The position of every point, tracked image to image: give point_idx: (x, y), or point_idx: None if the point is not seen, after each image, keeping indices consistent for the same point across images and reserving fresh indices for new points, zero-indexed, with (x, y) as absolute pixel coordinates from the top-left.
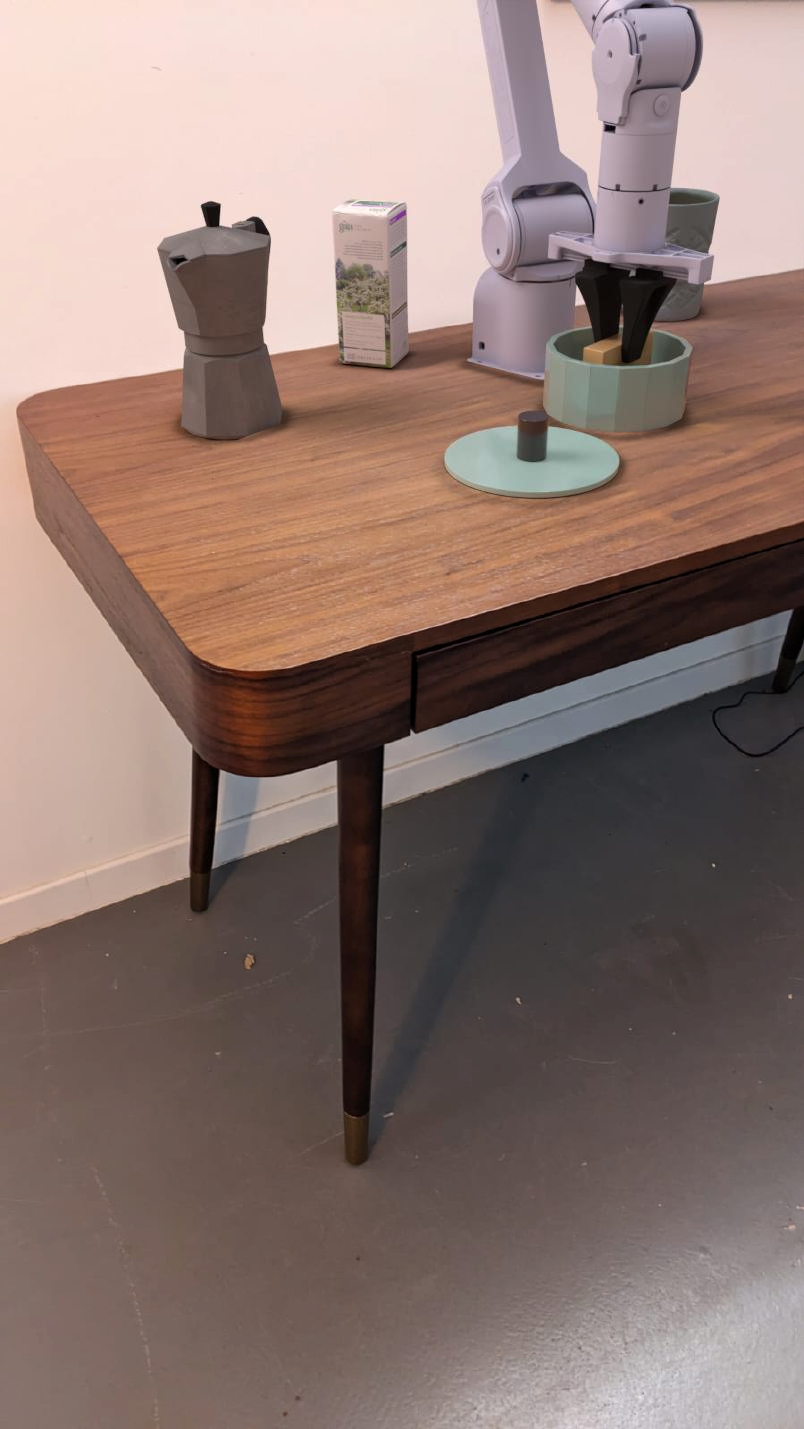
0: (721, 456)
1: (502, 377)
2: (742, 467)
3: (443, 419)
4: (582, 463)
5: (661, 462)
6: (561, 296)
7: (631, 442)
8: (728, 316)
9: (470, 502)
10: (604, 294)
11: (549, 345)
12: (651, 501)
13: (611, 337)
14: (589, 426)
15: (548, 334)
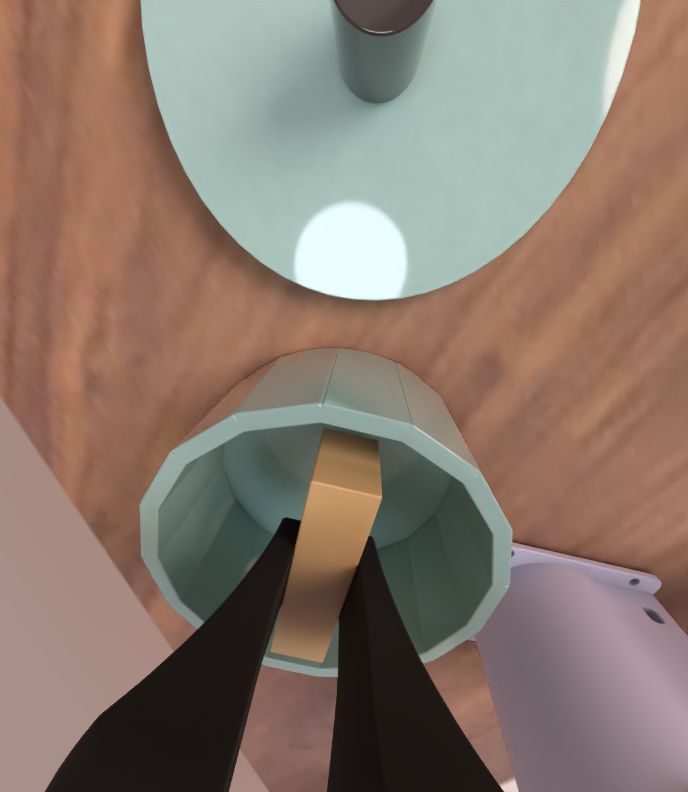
0: (87, 354)
1: (574, 547)
2: (31, 319)
3: (667, 305)
4: (240, 76)
5: (154, 275)
6: (545, 759)
7: (249, 350)
8: (327, 775)
9: None
10: (361, 735)
11: (500, 519)
12: (48, 18)
13: (341, 589)
14: (330, 350)
15: (529, 644)
